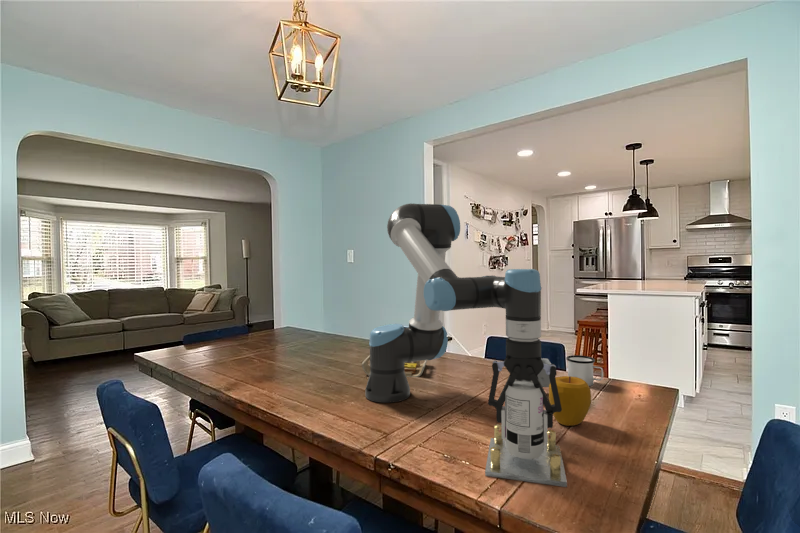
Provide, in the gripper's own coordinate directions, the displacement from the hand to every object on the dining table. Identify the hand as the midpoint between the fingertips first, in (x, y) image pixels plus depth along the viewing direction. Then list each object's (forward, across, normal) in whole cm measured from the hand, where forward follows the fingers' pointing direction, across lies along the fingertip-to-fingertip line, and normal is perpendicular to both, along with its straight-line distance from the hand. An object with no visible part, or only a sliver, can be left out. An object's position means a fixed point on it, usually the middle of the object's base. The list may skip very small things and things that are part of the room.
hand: (524, 438), depth 89 cm
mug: (+5, +21, +63) cm, 67 cm away
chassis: (+5, 0, 0) cm, 5 cm away
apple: (+5, +12, +25) cm, 28 cm away
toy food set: (+6, -50, +64) cm, 82 cm away
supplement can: (+3, 0, 0) cm, 3 cm away
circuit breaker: (+5, +3, +47) cm, 47 cm away
